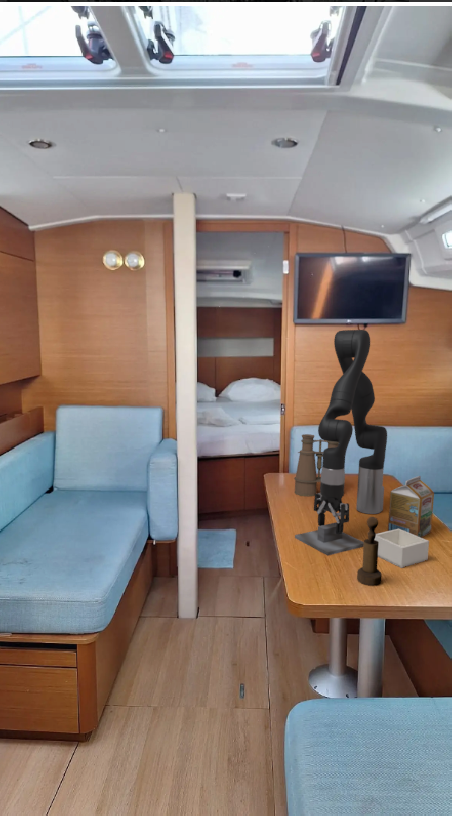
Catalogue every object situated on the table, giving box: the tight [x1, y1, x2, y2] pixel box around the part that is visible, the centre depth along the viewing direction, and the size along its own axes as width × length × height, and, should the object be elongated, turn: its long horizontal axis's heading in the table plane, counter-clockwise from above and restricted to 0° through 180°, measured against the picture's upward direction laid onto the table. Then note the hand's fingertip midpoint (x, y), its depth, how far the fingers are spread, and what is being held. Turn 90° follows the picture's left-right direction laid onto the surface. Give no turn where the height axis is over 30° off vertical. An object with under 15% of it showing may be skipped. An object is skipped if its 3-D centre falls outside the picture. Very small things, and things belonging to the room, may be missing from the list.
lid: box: [294, 521, 364, 557], centre depth 172 cm, size 16×16×6 cm
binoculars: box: [293, 433, 339, 497], centre depth 224 cm, size 21×10×25 cm, turn 88°
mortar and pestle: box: [356, 516, 383, 587], centre depth 145 cm, size 7×6×18 cm
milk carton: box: [387, 475, 435, 538], centre depth 182 cm, size 11×11×19 cm
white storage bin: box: [374, 529, 430, 569], centre depth 162 cm, size 12×12×6 cm
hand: (329, 529), depth 172 cm, fingers open, 8 cm apart
